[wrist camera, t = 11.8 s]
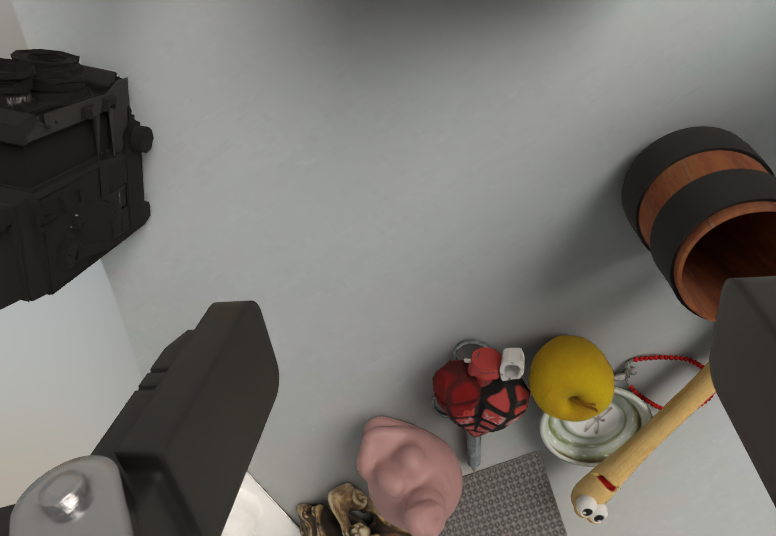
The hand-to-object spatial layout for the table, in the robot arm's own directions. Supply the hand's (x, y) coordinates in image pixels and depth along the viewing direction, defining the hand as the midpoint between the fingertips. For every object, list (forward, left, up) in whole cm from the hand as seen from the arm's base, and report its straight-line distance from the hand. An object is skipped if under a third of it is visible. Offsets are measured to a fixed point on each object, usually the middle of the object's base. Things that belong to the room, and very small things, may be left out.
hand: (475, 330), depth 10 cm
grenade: (+2, +33, -28) cm, 43 cm away
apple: (-5, +26, -32) cm, 41 cm away
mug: (-14, +13, -32) cm, 37 cm away
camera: (+29, +4, -32) cm, 43 cm away
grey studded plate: (+2, +45, -27) cm, 53 cm away
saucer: (-8, +34, -32) cm, 47 cm away
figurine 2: (+9, +37, -32) cm, 50 cm away
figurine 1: (+13, +48, -29) cm, 58 cm away
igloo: (+36, +50, -32) cm, 69 cm away
